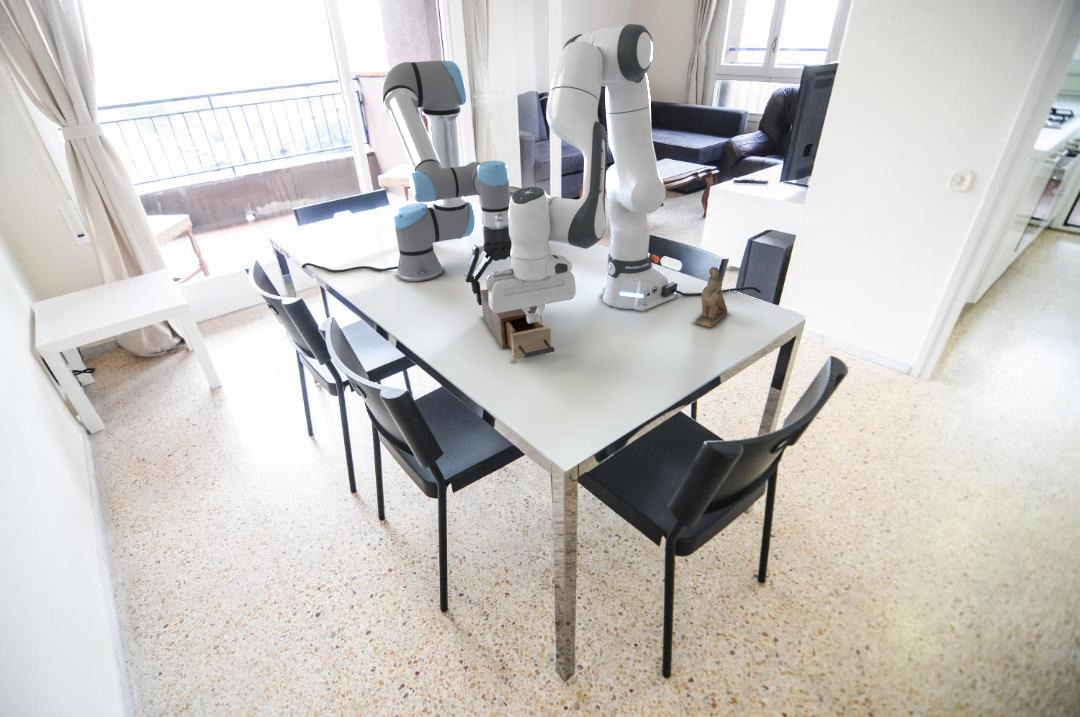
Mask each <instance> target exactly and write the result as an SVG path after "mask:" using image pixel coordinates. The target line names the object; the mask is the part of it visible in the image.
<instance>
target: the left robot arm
mask: <svg viewBox="0 0 1080 717" xmlns="http://www.w3.org/2000/svg"><path fill="white" fill-rule="evenodd" d="M466 91H467V89H466V84H465V80H464V77H463V74H462V71H461V70H460V67H459V66H458V65H457V64H456V63H455V62H454V61H452V60H441V59H440V60H439V59H438V60H424V61H404V62H400V63H398V64H396V65H395V66H393V67H392V68H391V69H390V70H389V71H388V72H387V73H386V76H385V77H384V79H383V82H382V85H381V93H380V94H381V95H380V96H381V97H380V98H381V102H382V106H383V108H384V110H385V113H386V114H387V115H388V117H391V118H392V121H393V123H394V127H395V129H396V131H397V134H398V136H399V139H400V142H401V144H402V146H403V148H404V151H405V154H406V156H407V159H408V162H409V164H410V166H411V169H412V171H411V173H410V174H409V187H410V191H411V195H412V198H413V199H414V200H415V202H417V203H411V204H407V205H404V206H401V207H399V208H397V209H396V210H395V211H394V213H393V215H392V219H393V228H394V230H395V231H394V232H395V236H396V241H397V247H398V251H399V259H398V265H396V266H391V267H386V268H377V267H374V266H369V265H360V266H353V267H349V268H344V269H331V268H328V267H325V266H321V265H318V264H315V263H311V262H306V263H303V264H302V266H301V269H303V268H305V267H307V266H309V267H313V268H316V269H319V270H324V271H327V272H329V273H330V272H331V273H344V272H350V271H354V270H361V269H362V270H364V269H367V270H372V271H377V272H387V271H391V270H392V271H393V270H397V276H398V278H399V279H400V280H402V281H406V282H413V283H414V282H425V281H429V280H432V279H435V278H438V277H439V276H440V275H441V274H442V273H443V268H442V264H441V263H440V260H439V259H438V256H437V254H436V252H435V250H434V244H435V243H440V242H445V241H452V240H457V239H458V240H461V239H462V238H467V237H470V236H471V235H472V233H473V231H474V228H475V222H476V221H475V213H474V207H473V205H472V203H471V202H469V201H468V198H467V197H473V196H479V201H480V209H481V223H482V225H483V227H482V232H483V245H476V244H473V245H472V254H471V257H470V259H469V262H468V265H467V267H466V270H465V273H464V276H463V280H464V281H465V282H466V283H468V284H469V283H471V291H472V292H473V294H474V295H475V296H476V302H477V304H478V306H482V299H481V290H482V289H481V283H480V281H479V280H480V278H481V277H482V276H483V274H484V272H485V271H486V269H487V268H488V267H489V265H490V264H492V262H493V261H495V262H497V261H498V262H499V261H501V260H502V261H505V260H507V259H508V258H510V259H511V256H510V251H511V245H512V243H511V239H510V236H509V225H508V213H509V202H510V192H509V186H510V175H509V168H508V167H509V166H508V164H507V163H506V162H504V161H502V160H486V161H482V162H479V161H471V162H469V163H467V164H466V165H461V160H460V148H459V136H458V124H457V118H458V116H459V115H460V114H461V106H463V105H465V104H466V101H467V92H466ZM419 108H421V113H422V115H424V116H425V117H426V119H427V122H428V130H427V127H426V124H425V122H424V120H423V118H422V115H421V113H420V111H419ZM428 131H429V132H428ZM429 202H430V203H431V202H432V206H430V207H428V205H427V204H426V203H429ZM483 252H484V253H485V254H484V256H483V258H482V260H481V261H480V263H479V264H478V261H479V259H480V256H481V255H482V253H483ZM477 264H478V266H477ZM476 267H477V268H476Z"/></svg>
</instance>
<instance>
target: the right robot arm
mask: <svg viewBox="0 0 1080 717" xmlns="http://www.w3.org/2000/svg"><path fill="white" fill-rule="evenodd" d="M653 59H654V42H653V36H652V35H651V33H650V32H649V30H648V29H647V27H645V25H643V24H636V23H628V24H625V25H613V26H607V27H602V28H600V29H597V30H593V31H589V32H587V33H584V34H582V33H580V34H577V35H575V36H573V37H571V38H569V39H568V40H566V42H565V44H564V46H563V48H562V50H561V52H560V55H559V58H558V60H557V63H556V66H555V69H554V72H553V75H552V78H551V83H550V88H549V91H548V96H547V97H548V98H547V101H546V109H545V116H546V117H545V118H546V121H547V124H548V127H549V129H550V130H551V132H552V133H553V134H554V135H555V136H556V137H557V138H559V139H560V140H561V141H563V142H564V143H566V144H567V145H570V146H572V147H573V148H575V149H577V150H578V151H580V152H581V153H582V157H583V182H582V183H583V184H582V195H581V197H579V198H578V199H575V198H566V197H560V196H552V195H549V194H547V192H546V190H545V189H544V188H542V187H540V186H539V187H538V186H526V187H520V188H521V189H519V190H517V191H515V192H514V193H513V194H512V195H511V197H510V202H509V213H508V225H509V236H510V239H511V243H512V245H511V251H510V256H511V258H510V268H508V269H504V270H499V271H493V272H491V274H489V275H488V276H487V277H486V279H485V280H486V281H485V282H486V289H488V291H489V295H488V301H489V307H490V309H491V310H492V311H493V312H495V313H501V312H507V311H512V310H517V309H522V310H523V311H524V313H525V314H526V319H527V322H528V324H530V323H535V322H540V321H541V322H542V317H541V318H540V315H541V316H542V314H543V312H544V311H545V309H546V305H547V304H554V303H559V302H565V301H570V300H573V299H574V298H575V296H576V294H577V292H576V289H577V288H576V280H575V279H576V278H575V276H574V273H573V272H572V270H573V264H572V263H571V262H570V260H568V258H566V257H564V256H563V255H561V254H559V253H553V252H552V251H551V247H550V242H552V243H559V244H565V245H570V246H573V247H576V248H581V249H585V250H586V249H589V248H592V247H593V246H595V245H596V244H597V243H598V242H600V241H601V240H602V238H603V237H604V234H605V231H606V226H607V225H606V224H607V222H606V221H607V220H606V201H607V210H608V218H609V223H610V224H609V225H610V236H609V238H610V240H609V253H608V254H607V255H608V257H607V280H606V285H605V289H604V291H603V292H604V293H603V294H602V301H603V302H604V303H605V304H606V305H608V306H611V307H613V308H619V309H624V310H625V309H626V310H636V311H641V312H644V311H647V310H650V309H652V308H654V307H656V306H659V305H661V304H663V303H666V302H668V301H671V300H673V299H675V298H676V294H679V295H680V296H684V297H699V296H702V292H697V293H696V292H695V293H693V292H690V293H689V292H682V291H680V290H678V282H675V281H670V282H669V279H668V277H667V275H665V273H663V271H661V270H660V269H658V268H657V267H655V266H654V265H653V263H654V264H658V263H659V262H660V260H661V259H660V256H658V255H655V254H651V253H650V252H649V248H650V236H651V228H650V223H649V221H648V214H652V213H654V212H656V211H657V210H659V208H660V207H661V206H662V205H663V203H664V201H665V199H666V194H667V193H666V186H665V184H664V181H663V179H662V177H661V173H660V169H659V165H658V160H657V155H656V152H655V147H654V141H653V132H652V130H653V129H652V109H651V94H650V86H649V80H648V75H647V74H648V72H649V69H650V68H651V65H652V62H653ZM602 86H605V89H604V90H605V91H604V92H605V93H604V94H605V96H604V98H605V99H604V100H605V103H604V104H605V118H606V127H607V128H606V127H605V126H604V125H603V124H602V123H601V122H600V120H599V115H598V114H599V113H598V110H599V103H600V99H601V92H602ZM606 129H607V131H606ZM608 146H609V149H610V151H611V154H612V158H613V161H614V163H613V164H611V165H610V166H609V167H608V164H607V163H608ZM607 167H608V168H607ZM606 198H607V200H606ZM652 262H653V263H652ZM726 289H727V290H726ZM726 289H722V293H723V294H725V293H729V292H738V291H739V292H740V291H747V290H752V291H755V292H757V293H759V294H761V293H762V291H761V290H760V289H759V288H757V287H756V286H744V287H733V288H732V287H731V288H726ZM729 290H730V291H729ZM533 306H537V307H538V308H537V310H536V312H535V313H531V314H529V313H528V312H527V311H530V307H533Z"/></svg>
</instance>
